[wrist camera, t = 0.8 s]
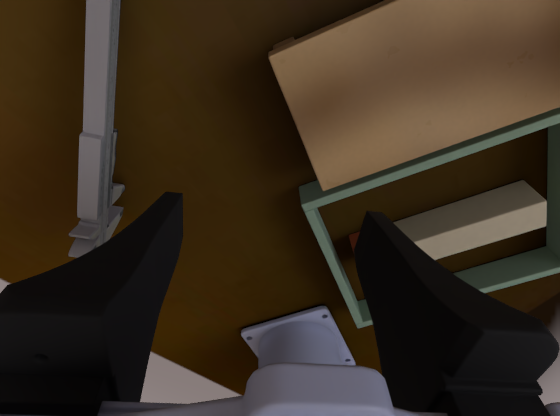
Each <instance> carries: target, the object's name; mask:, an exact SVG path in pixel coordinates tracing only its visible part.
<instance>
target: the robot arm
mask: <svg viewBox="0 0 560 416" xmlns="http://www.w3.org/2000/svg"><path fill="white" fill-rule="evenodd" d="M182 238H183V193H173V192H165V193H164V194H163V195H162V196H161V197H160V198H159V199H158V200H157V201H155V202H154V203H153V204H152V205H151V206H150V207H149V208H148V209H147V210H146V211H145V212H144V213H143V214H141V215H140V216H139V217H138V218H137V219H136V220H135V221H133V222H132V223H131V224H130V225H128V226H127V227H126V228H125V229H123V230H122V231H121V232H119V233H118V234H117V235H115V236H114V237H113V238H111V239H110V240H108V241H106V242H105V243H103V244H102V245H100V246H98V247H97V248H95V249H93V250H91V251H89V252H88V253H86V254H84V255H82V256H80V257H78V258H76V259H74V260H72V261H70V262H68V263H66V264H63V265H61V266H59V267H57V268H54V269H52V270H49V271H47V272H44V273H42V274H39V275H36V276H33V277H30V278H27V279H25V280H22V281H19V282H16V283H13V284H9V285H7V286H6V288H5V289H4V290H3V291H2V292H1V293H0V416H560V403H559V402H557V403H550V404H547V405H545V406H544V404H543V403H542V401H541V399H540V398H539V396H538V395H541V394H542V393H543V392H542V389H541V387H540V386H539V384H538V382H537V379H538V378H539V377H540V376H541V375H542V374H543V373H544V372H545V371H546V370H547V369H548V368H549V367H550V366H551V365H552V363H553V362H554V361H555V359H556V358H557V356H558V352H559V345H558V342H557V341H556V339H555V338H554V337H553V335H552V334H551V333H550V331H549V330H548V329H547V327H546V326H545V325H544V323H543V322H542V321H541V320H540V319H537V318H535V317H533V316H530V315H528V314H526V313H524V312H521V311H519V310H517V309H515V308H512V307H510V306H508V305H506V304H504V303H502V302H500V301H498V300H496V299H494V298H492V297H490V296H489V295H487V294H485V293H483V292H481V291H480V290H478V289H476V288H475V287H473V286H471V285H470V284H468V283H466V282H465V281H463V280H462V279H460V278H459V277H457V276H456V275H454V274H453V273H451V272H450V271H448V270H447V269H446V268H444V267H443V266H442V265H440V264H439V263H438V262H436V261H435V260H434V259H433V258H431V257H430V256H429V255H428V254H427V253H425V252H424V251H423V250H422V249H421V248H420V247H418V246H417V245H416V244H415V243H414V242H413V241H412V240H411V239H410V238H409V237H407V236H406V235H405V234H404V233H403V232H402V231H401V230H400V229H399V228H398V227H397V226H396V225H395V224H394V223H393V222H392V221H391V220H390V219H389V218H387V217H386V216H385V215H384V214H383V213H382V212H372V211H367V212H366V215H365V218H364V221H363V224H362V227H361V230H360V233H359V236H358V239H357V242H356V245H355V248H354V255H355V262H356V268H357V273H358V276H359V280H360V283H361V286H362V290H363V293H364V296H365V299H366V302H367V306H368V309H369V312H370V315H371V318H372V322H373V326H374V330H375V336H376V341H377V346H378V351H379V357H380V364H381V370H382V375H381V374H380V373H379V372H378V371H377V370H374V369H371V368H367V367H363V366H355V365H356V364H355V361H354V359H353V357H352V355H351V353H350V351H349V349H348V347H347V345H346V343H345V341H344V339H343V337H342V335H341V333H340V331H339V329H338V327H337V325H336V323H335V321H334V319H333V317H332V315H331V313H330V311H329V309H328V308H327V307H326V306H319V307H315V308H312V309H308V310H305V311H302V312H298V313H295V314H291V315H288V316H285V317H281V318H278V319H275V320H271V321H268V322H264V323H261V324H258V325H254V326H251V327H247V328H244V329H242V331H241V336H242V337H243V339H244V340H245V341H246V343H247V344H248V345H249V346H250V348H251V349H252V350H253V352H254V353H255V354H256V356H257V357H258V369H257V370H256V371H254V372H253V373H252V375H251V376H250V378H249V379H248V381H247V385H246V392H245V394H244V396H238V397H232V398H224V399H218V400H212V401H205V402H198V403H191V404H173V403H172V404H171V403H144V402H140V399H141V393H142V388H143V383H144V379H145V374H146V369H147V364H148V360H149V355H150V351H151V346H152V342H153V337H154V333H155V329H156V324H157V320H158V316H159V313H160V309H161V306H162V303H163V300H164V297H165V295H166V292H167V289H168V286H169V283H170V280H171V278H172V275H173V272H174V269H175V266H176V263H177V260H178V257H179V252H180V248H181V243H182Z"/></svg>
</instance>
